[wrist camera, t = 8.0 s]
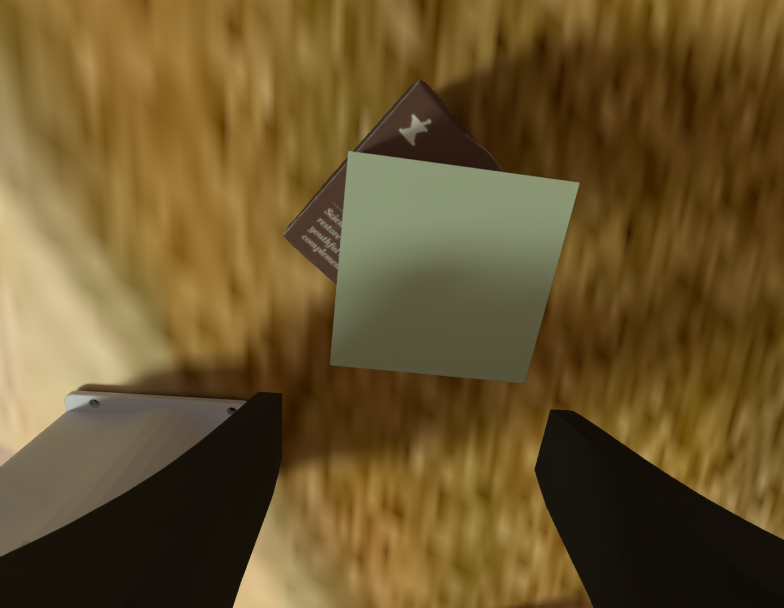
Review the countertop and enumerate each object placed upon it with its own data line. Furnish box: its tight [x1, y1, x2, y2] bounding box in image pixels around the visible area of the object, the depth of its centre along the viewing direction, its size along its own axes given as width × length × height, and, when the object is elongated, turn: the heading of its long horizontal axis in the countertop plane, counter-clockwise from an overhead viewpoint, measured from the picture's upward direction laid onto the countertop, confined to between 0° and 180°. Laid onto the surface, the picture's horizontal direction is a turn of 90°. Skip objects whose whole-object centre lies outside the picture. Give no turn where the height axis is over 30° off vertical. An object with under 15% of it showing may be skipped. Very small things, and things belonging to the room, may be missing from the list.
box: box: [283, 80, 503, 284], centre depth 16 cm, size 6×6×7 cm
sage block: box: [330, 151, 580, 383], centre depth 10 cm, size 4×4×5 cm
